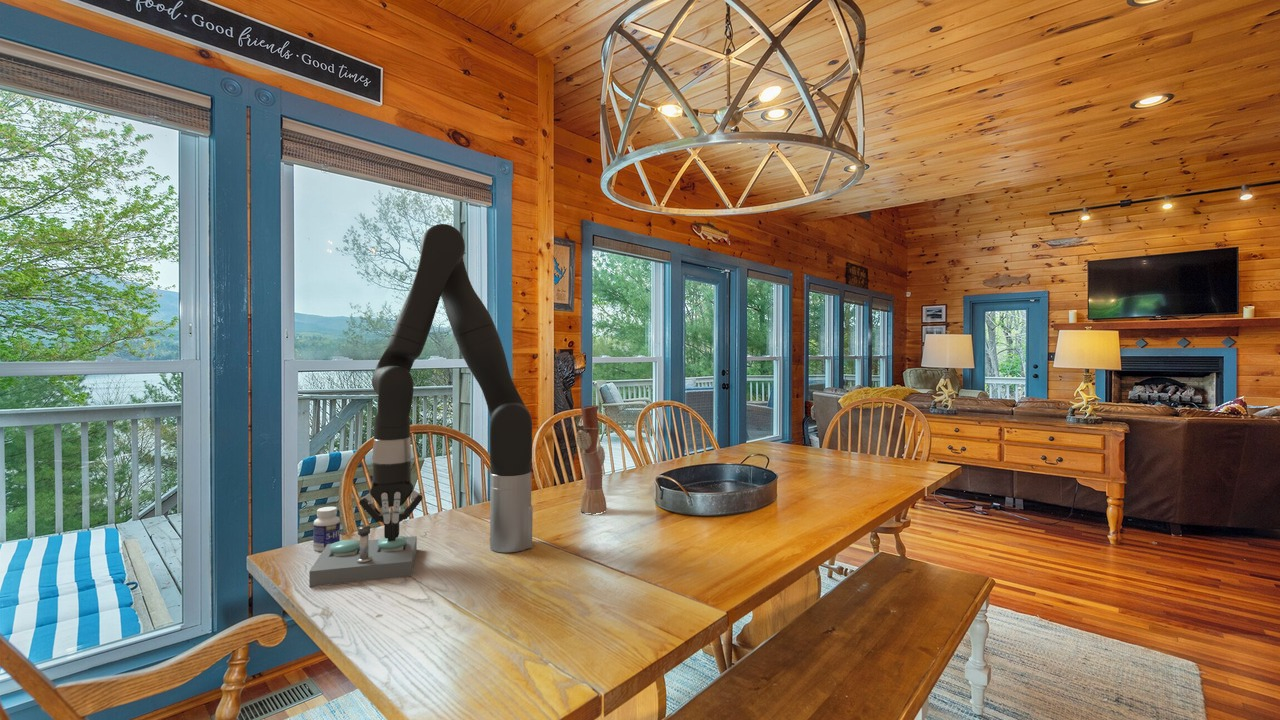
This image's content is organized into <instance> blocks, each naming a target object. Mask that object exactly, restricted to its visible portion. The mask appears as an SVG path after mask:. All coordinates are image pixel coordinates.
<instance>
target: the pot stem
mask: <svg viewBox="0 0 1280 720" xmlns="http://www.w3.org/2000/svg"><path fill="white" fill-rule="evenodd" d="M370 533H371V525H362V526H361V525H360V526H358V527H357V535H358V536H359V541H360V557H358V558H357V559H356V562H357V563H367V562H370V561H371V560H372V557H371V556H369V540H370V539H369V538H370V537H369V534H370Z"/></svg>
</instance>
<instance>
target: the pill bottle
mask: <svg viewBox="0 0 1280 720" xmlns="http://www.w3.org/2000/svg"><path fill="white" fill-rule="evenodd" d="M337 514H338V507H337V506H324V507H320V508H318V509H317V510H316V517H317V518H316V519H314V520H313V528H312V529H313V532H312V533H313V535H312V536H313V542H312V543H313V544H312V545H313V551H316V552H323V550H324V549H325V547H326V546H327V544H331V543H335V542H338V541H341V539H340V538H341V535H340V534H341V520H340V518H339V517H338V516H337Z"/></svg>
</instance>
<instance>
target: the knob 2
mask: <svg viewBox="0 0 1280 720" xmlns="http://www.w3.org/2000/svg"><path fill="white" fill-rule="evenodd" d="M406 537H407V536H403V535H399V536H398V538H396V540H395V541H388V538H386V539H385V537H382V538H380V540H378V539H377V540H378V548H381V552H387V551H398V550H403V546H404V545H406Z"/></svg>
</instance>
